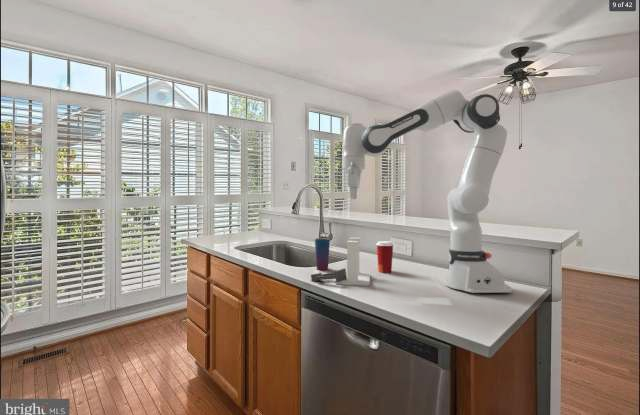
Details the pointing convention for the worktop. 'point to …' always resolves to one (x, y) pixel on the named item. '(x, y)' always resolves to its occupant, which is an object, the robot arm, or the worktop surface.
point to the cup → (322, 253)
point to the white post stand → (354, 266)
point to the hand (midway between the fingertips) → (353, 198)
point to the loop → (330, 276)
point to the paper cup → (384, 256)
